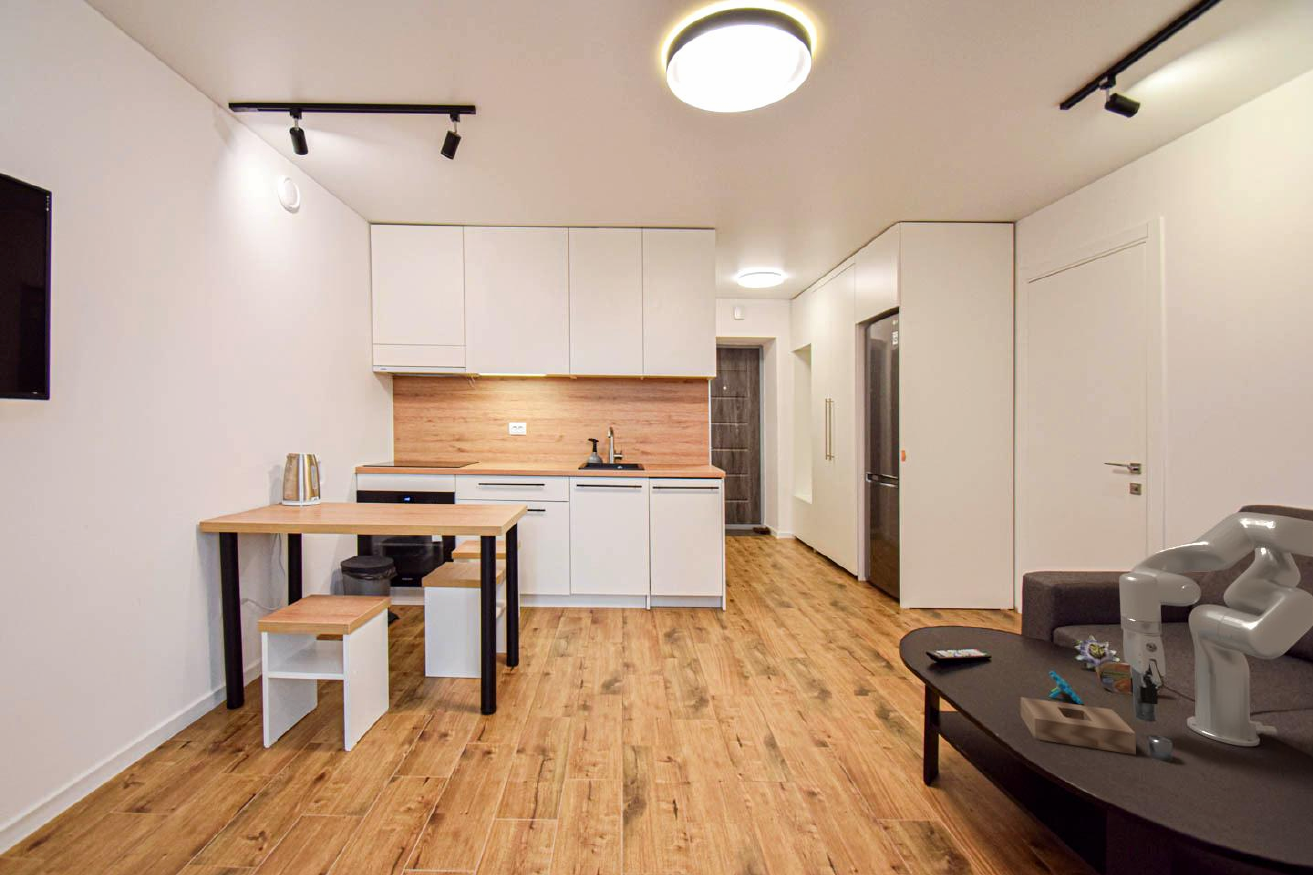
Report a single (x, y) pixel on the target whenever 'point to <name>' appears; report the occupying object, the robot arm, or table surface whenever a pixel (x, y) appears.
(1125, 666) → the tin
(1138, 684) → the long pin
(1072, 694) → the gear
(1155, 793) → the table surface
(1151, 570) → the robot arm
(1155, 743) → the short pin
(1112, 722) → the hole block
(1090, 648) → the passion flower
